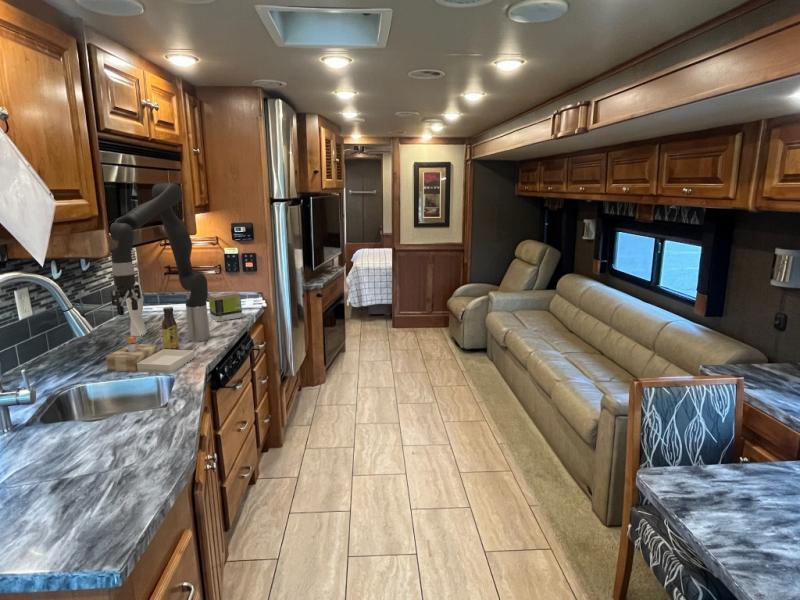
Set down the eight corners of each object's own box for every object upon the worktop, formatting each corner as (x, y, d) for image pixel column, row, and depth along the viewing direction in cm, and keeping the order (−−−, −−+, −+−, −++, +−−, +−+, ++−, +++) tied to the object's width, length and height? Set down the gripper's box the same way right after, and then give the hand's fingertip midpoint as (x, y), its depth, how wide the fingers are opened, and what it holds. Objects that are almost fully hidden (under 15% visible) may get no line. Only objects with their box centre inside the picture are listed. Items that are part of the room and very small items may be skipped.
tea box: (236, 315, 279) (234, 290, 276) (242, 318, 272) (241, 293, 269) (210, 319, 270) (208, 293, 267) (216, 322, 263) (214, 296, 259)
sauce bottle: (173, 352, 213) (168, 309, 208) (160, 351, 214) (156, 309, 210) (182, 348, 219) (178, 306, 215) (170, 347, 220) (166, 305, 216)
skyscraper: (141, 337, 235) (134, 281, 229) (126, 337, 235) (119, 281, 229) (150, 332, 243) (143, 279, 237) (135, 332, 243) (129, 278, 237)
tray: (164, 356, 208) (163, 349, 207) (194, 358, 206) (193, 350, 205) (137, 371, 190) (136, 363, 189) (170, 373, 189) (169, 365, 188)
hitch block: (133, 357, 207) (131, 343, 206) (159, 358, 206) (157, 345, 204) (107, 370, 192) (105, 356, 190) (135, 371, 190) (133, 357, 189)
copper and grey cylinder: (133, 362, 200) (130, 335, 198) (140, 362, 200) (137, 335, 197) (128, 365, 197) (124, 337, 195) (135, 365, 197) (132, 337, 194)
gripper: (126, 270, 198) (131, 308, 201) (102, 275, 184) (107, 316, 187) (143, 270, 197) (147, 308, 200) (120, 276, 183) (125, 317, 187)
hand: (128, 312), depth 194 cm, fingers open, 8 cm apart
